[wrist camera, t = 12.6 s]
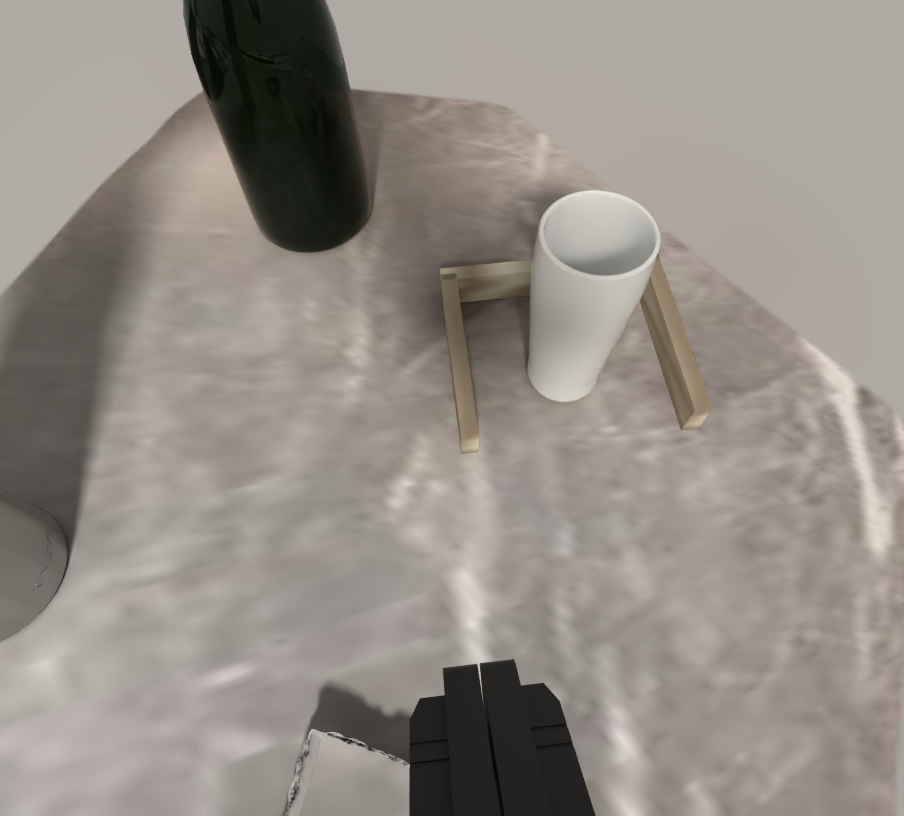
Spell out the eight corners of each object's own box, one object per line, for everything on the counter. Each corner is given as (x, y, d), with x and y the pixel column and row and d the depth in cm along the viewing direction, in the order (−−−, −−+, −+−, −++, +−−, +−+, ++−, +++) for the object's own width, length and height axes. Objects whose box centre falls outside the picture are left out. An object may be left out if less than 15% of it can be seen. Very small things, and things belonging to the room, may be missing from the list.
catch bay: (461, 453, 43) (461, 435, 40) (441, 292, 50) (439, 268, 47) (697, 428, 44) (712, 408, 41) (645, 272, 50) (655, 247, 48)
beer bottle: (291, 277, 51) (58, -322, 22) (237, 204, 55) (-18, -380, 26) (395, 223, 54) (311, -375, 25) (337, 158, 58) (205, -420, 29)
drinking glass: (601, 338, 47) (654, 187, 34) (610, 414, 44) (671, 280, 31) (515, 337, 48) (534, 187, 34) (518, 413, 44) (539, 279, 31)
